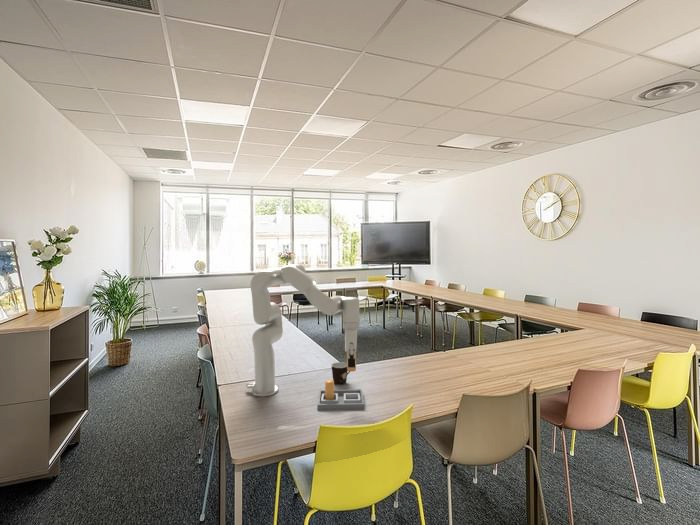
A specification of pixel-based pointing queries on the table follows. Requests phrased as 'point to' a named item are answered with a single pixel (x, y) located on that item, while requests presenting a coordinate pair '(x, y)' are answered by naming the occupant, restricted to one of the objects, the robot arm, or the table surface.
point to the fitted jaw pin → (329, 390)
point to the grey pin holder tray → (341, 400)
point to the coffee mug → (339, 373)
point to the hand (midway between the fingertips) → (351, 364)
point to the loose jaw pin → (351, 367)
